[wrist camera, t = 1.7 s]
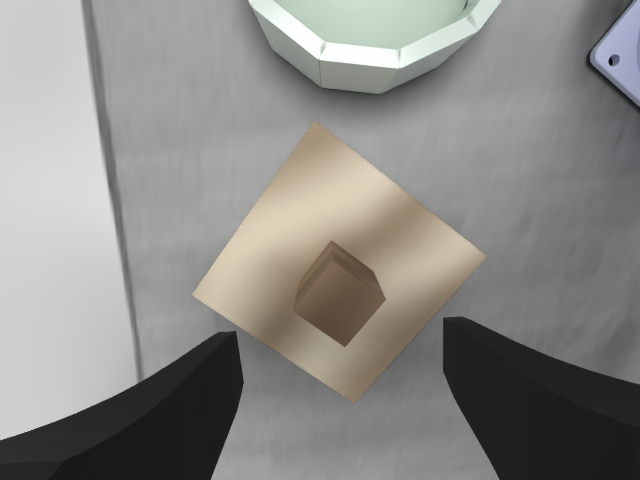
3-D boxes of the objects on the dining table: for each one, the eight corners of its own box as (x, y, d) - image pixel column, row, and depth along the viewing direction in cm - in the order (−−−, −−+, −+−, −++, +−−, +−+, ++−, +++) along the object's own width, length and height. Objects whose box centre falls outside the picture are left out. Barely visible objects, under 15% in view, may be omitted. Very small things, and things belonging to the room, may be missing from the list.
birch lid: (480, 252, 19) (530, 281, 14) (352, 394, 21) (360, 459, 17) (314, 122, 18) (311, 107, 13) (196, 289, 20) (157, 328, 15)
